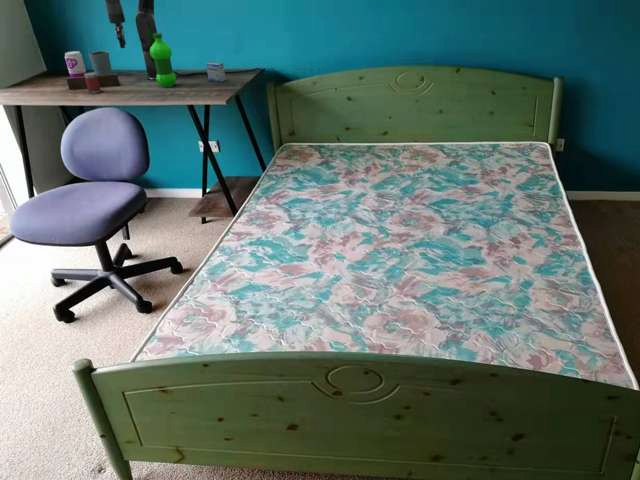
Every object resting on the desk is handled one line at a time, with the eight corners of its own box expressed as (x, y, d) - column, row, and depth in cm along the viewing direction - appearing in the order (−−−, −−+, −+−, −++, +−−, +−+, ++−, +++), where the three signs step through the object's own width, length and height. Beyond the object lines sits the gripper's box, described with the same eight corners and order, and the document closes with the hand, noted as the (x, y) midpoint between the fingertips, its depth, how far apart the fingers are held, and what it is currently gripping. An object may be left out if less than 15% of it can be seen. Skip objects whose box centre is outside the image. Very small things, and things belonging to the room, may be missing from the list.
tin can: (101, 90, 301) (96, 72, 296) (100, 93, 296) (95, 74, 292) (89, 91, 300) (84, 73, 295) (88, 94, 295) (83, 75, 290)
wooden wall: (119, 83, 312) (117, 72, 309) (119, 85, 309) (116, 74, 306) (70, 87, 307) (67, 76, 304) (69, 89, 303) (66, 78, 300)
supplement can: (83, 84, 311) (74, 54, 303) (69, 84, 313) (60, 54, 305) (92, 80, 318) (84, 51, 310) (78, 80, 319) (70, 50, 311)
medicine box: (208, 81, 312) (205, 63, 307) (213, 78, 315) (210, 61, 311) (221, 82, 309) (218, 64, 304) (226, 80, 313) (223, 62, 308)
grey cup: (96, 78, 321) (89, 55, 314) (93, 74, 328) (87, 52, 322) (115, 76, 325) (109, 53, 319) (112, 72, 333) (106, 49, 326)
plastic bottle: (157, 89, 300) (145, 36, 287) (157, 84, 309) (146, 32, 295) (177, 87, 302) (167, 35, 289) (177, 82, 311) (167, 31, 297)
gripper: (122, 13, 293) (130, 48, 302) (123, 9, 305) (131, 43, 314) (106, 15, 292) (114, 49, 300) (108, 10, 303) (116, 44, 312)
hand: (123, 46), depth 307 cm, fingers open, 8 cm apart
